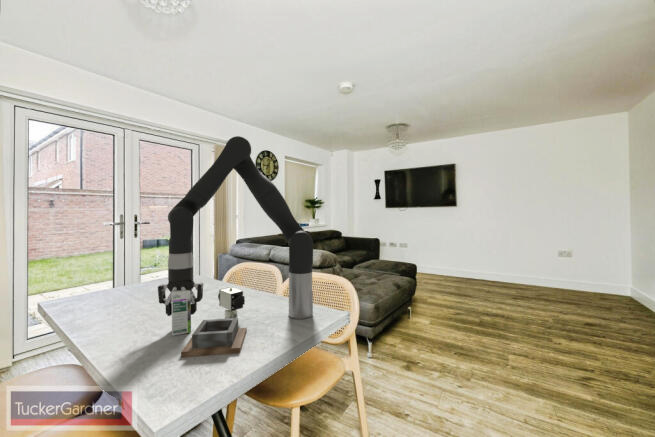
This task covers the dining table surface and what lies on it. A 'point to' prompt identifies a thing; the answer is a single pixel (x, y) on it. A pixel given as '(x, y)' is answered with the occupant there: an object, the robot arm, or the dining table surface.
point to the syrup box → (181, 312)
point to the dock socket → (215, 338)
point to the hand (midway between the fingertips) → (181, 314)
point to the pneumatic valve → (231, 301)
